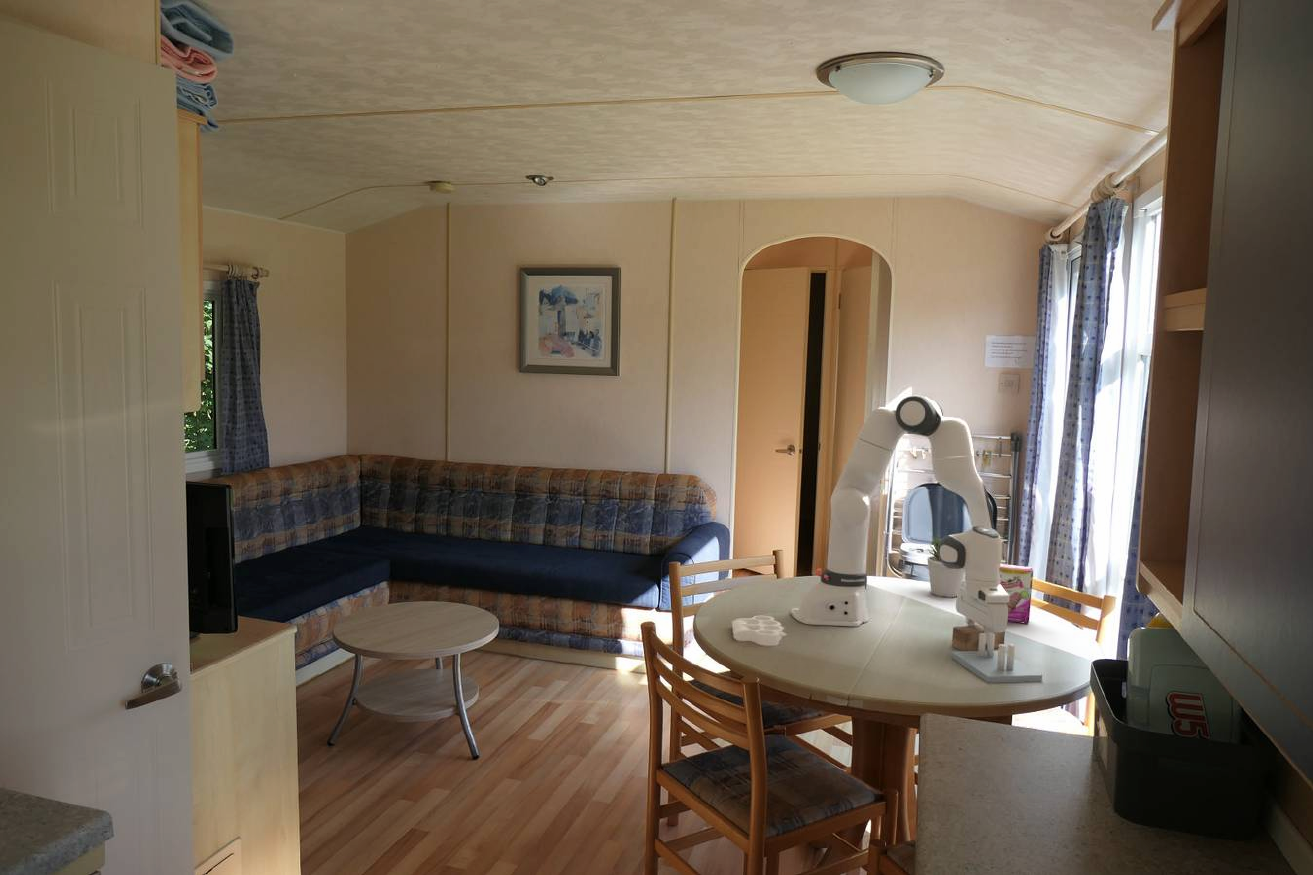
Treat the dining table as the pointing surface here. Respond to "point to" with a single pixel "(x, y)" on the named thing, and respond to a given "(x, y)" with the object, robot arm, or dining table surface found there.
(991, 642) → the peg stand
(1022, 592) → the candy bar box
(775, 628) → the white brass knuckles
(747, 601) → the dining table surface
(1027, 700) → the dining table surface
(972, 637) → the walnut wood block
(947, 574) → the potted plant
